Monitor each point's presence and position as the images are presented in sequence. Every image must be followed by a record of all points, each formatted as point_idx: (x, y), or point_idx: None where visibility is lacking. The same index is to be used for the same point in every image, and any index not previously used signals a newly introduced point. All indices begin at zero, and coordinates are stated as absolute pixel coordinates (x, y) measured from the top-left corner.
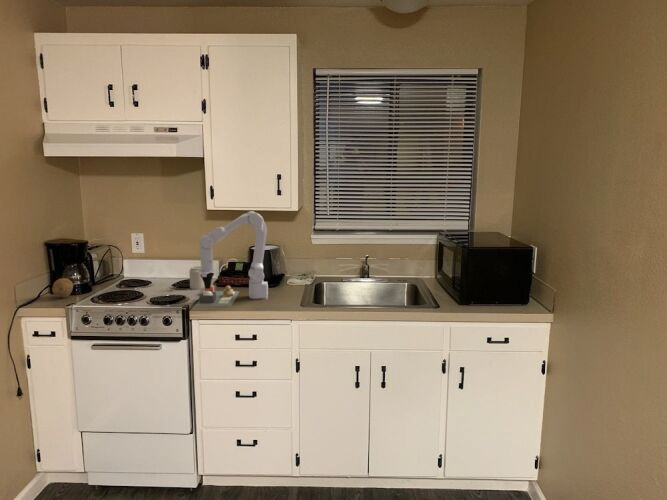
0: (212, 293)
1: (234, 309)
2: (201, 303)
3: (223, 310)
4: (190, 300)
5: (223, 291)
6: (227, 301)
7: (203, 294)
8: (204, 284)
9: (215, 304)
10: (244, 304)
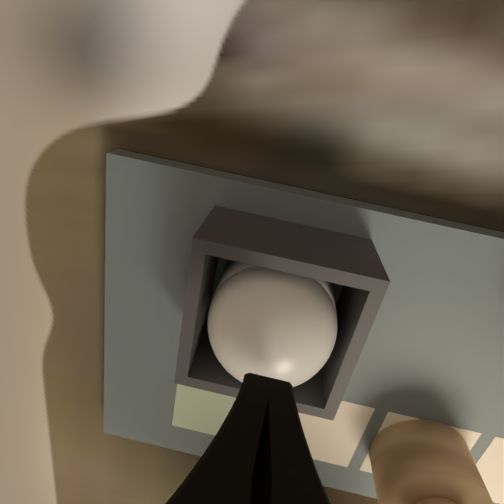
0: None
1: (78, 430)
2: (186, 224)
3: (51, 371)
4: (445, 77)
5: (417, 468)
6: None
7: (243, 290)
8: (223, 423)
9: (145, 341)
10: None
